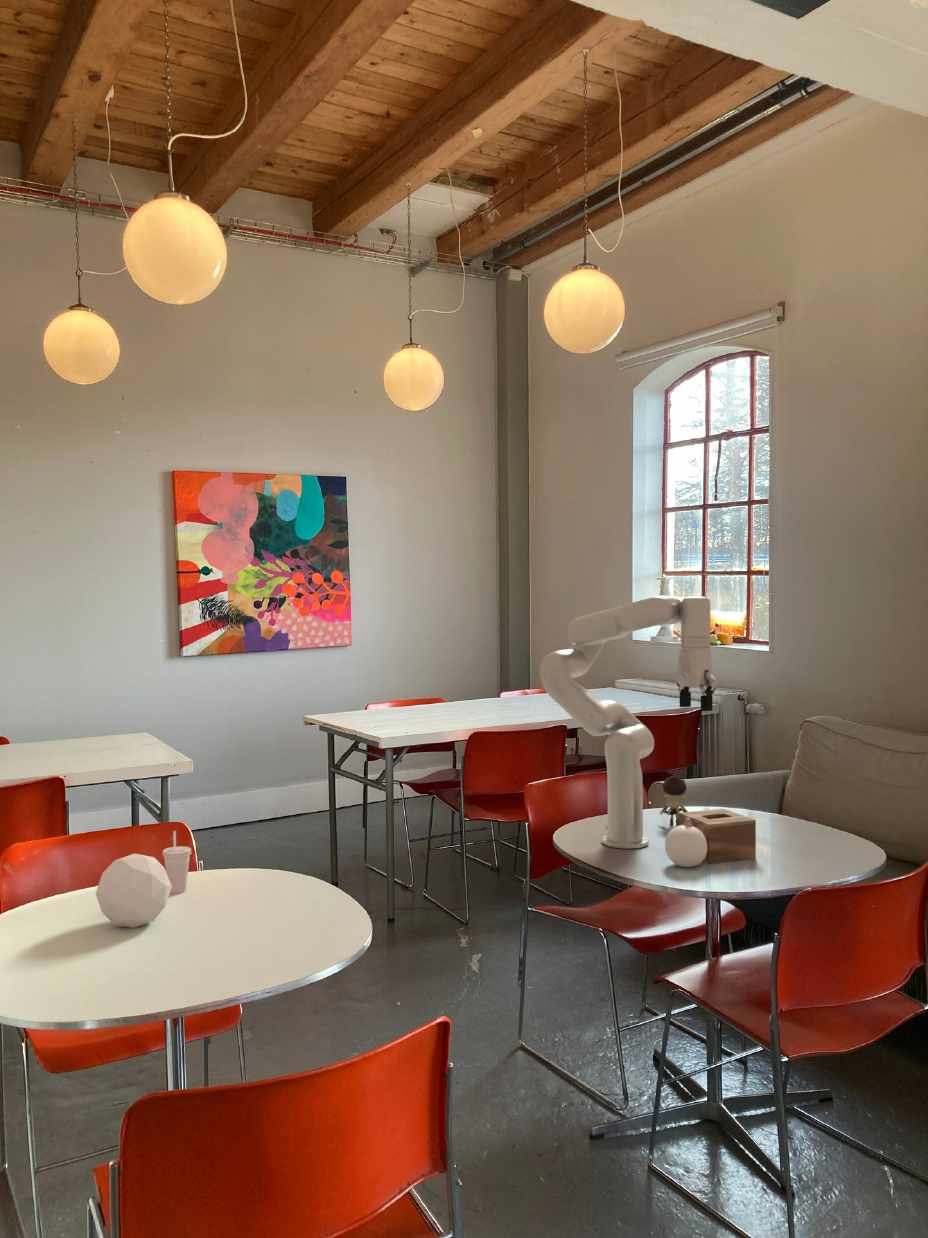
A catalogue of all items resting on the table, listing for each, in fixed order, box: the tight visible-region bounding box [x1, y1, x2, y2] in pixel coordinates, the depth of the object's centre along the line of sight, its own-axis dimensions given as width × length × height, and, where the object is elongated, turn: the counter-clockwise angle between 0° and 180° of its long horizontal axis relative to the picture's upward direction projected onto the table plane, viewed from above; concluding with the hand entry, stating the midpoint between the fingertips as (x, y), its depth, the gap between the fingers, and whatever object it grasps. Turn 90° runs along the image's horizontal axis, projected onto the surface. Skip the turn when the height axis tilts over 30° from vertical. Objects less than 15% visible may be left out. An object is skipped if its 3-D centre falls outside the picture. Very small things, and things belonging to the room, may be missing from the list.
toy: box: [659, 775, 689, 827], centre depth 271 cm, size 9×7×15 cm
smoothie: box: [162, 830, 192, 895], centre depth 211 cm, size 6×6×14 cm
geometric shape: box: [95, 853, 172, 929], centre depth 190 cm, size 14×15×15 cm
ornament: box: [664, 818, 707, 868], centre depth 229 cm, size 10×10×12 cm
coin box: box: [678, 808, 757, 865], centre depth 240 cm, size 14×14×10 cm
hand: (695, 708), depth 240 cm, fingers open, 9 cm apart
